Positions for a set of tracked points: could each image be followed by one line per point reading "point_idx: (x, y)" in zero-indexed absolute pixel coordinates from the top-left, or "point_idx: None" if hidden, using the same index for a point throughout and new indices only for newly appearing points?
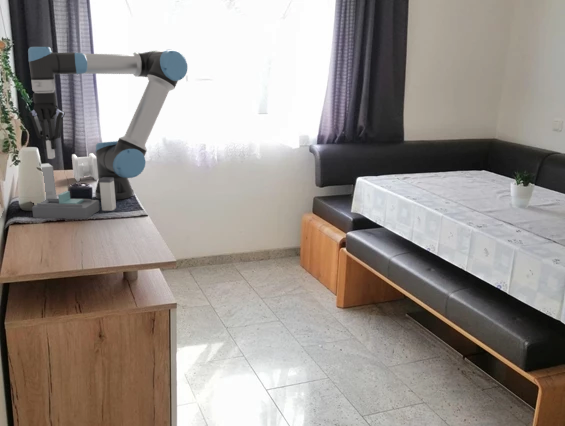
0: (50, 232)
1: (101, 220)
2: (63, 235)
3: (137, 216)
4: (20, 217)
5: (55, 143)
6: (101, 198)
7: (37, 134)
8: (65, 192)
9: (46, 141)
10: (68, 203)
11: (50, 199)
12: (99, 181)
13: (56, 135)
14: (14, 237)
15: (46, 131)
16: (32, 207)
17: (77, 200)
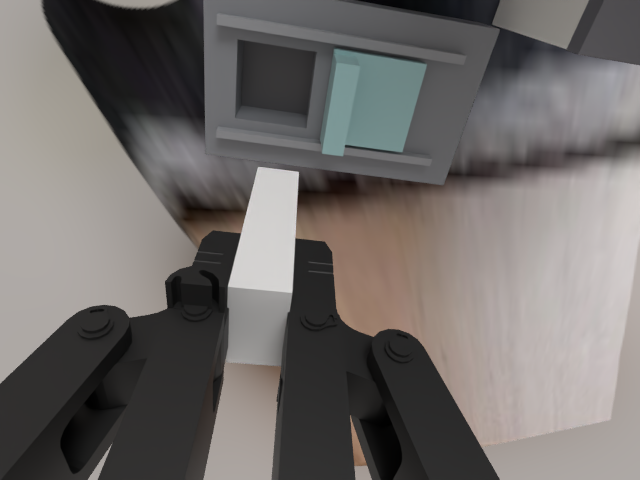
0: (346, 295)
1: (488, 188)
2: (389, 317)
3: (628, 142)
4: (158, 130)
5: (332, 293)
6: (520, 33)
7: (66, 433)
8: (345, 102)
9: (235, 355)
10: (366, 146)
11: (236, 26)
12: (570, 51)
13: (390, 439)
14: None
15: (200, 466)
16: (207, 152)
17: (399, 96)
